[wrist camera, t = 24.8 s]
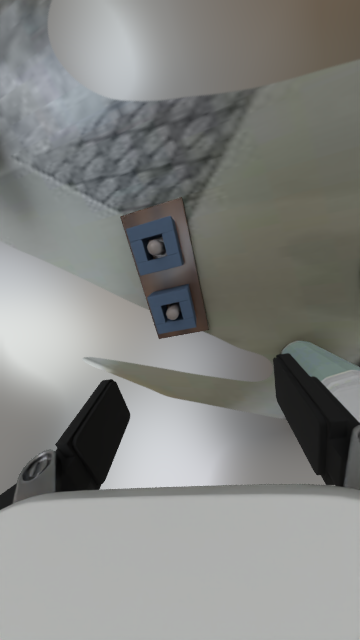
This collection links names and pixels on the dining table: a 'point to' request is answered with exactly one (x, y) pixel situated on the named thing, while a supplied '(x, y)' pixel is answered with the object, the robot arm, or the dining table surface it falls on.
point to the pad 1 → (151, 231)
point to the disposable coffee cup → (330, 373)
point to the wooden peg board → (172, 275)
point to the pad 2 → (159, 309)
